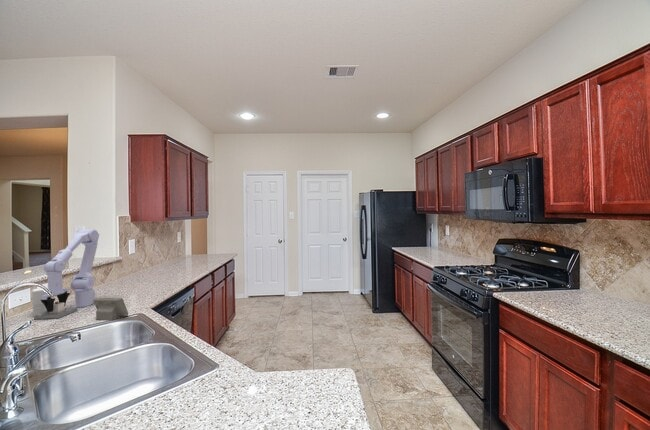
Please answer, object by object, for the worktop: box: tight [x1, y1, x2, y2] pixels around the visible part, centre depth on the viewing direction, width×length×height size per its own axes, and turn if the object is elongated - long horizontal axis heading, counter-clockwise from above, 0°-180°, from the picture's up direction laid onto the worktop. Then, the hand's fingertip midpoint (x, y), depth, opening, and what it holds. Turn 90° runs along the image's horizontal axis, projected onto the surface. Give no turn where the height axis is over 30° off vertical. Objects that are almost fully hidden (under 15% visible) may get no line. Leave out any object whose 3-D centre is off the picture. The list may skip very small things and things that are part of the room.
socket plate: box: [33, 306, 78, 321], centre depth 155 cm, size 12×12×3 cm
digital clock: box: [93, 296, 129, 321], centre depth 149 cm, size 16×9×11 cm, turn 70°
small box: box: [31, 286, 48, 317], centre depth 159 cm, size 8×6×13 cm
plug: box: [49, 300, 66, 313], centre depth 155 cm, size 4×4×6 cm
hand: (56, 309), depth 155 cm, fingers open, 7 cm apart
